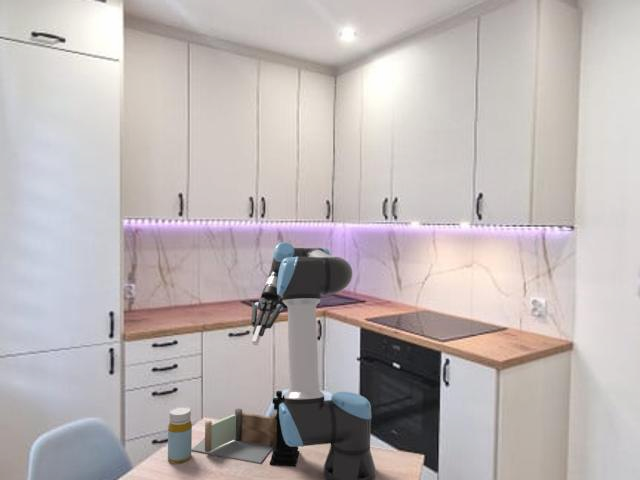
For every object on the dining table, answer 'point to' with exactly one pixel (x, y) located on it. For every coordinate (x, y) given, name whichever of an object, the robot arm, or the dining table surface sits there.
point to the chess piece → (282, 441)
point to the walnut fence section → (256, 428)
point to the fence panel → (219, 432)
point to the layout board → (238, 450)
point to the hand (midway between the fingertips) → (254, 343)
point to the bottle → (179, 435)
